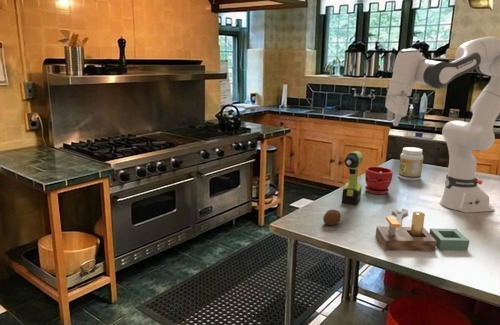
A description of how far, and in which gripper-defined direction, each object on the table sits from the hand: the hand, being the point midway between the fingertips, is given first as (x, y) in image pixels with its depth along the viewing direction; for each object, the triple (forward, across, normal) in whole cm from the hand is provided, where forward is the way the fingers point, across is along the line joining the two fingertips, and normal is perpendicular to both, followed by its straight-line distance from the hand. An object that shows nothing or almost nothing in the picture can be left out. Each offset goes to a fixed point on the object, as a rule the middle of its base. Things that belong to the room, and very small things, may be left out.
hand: (392, 123), depth 169 cm
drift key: (+36, -31, 0) cm, 48 cm away
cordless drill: (+43, +10, +8) cm, 44 cm away
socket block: (+39, -31, -6) cm, 50 cm away
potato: (+43, -15, +19) cm, 49 cm away
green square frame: (+37, -30, -22) cm, 52 cm away
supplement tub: (+40, +55, -33) cm, 75 cm away
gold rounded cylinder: (+38, -30, -10) cm, 50 cm away
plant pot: (+42, +28, -9) cm, 51 cm away
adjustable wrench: (+40, -9, -9) cm, 42 cm away
